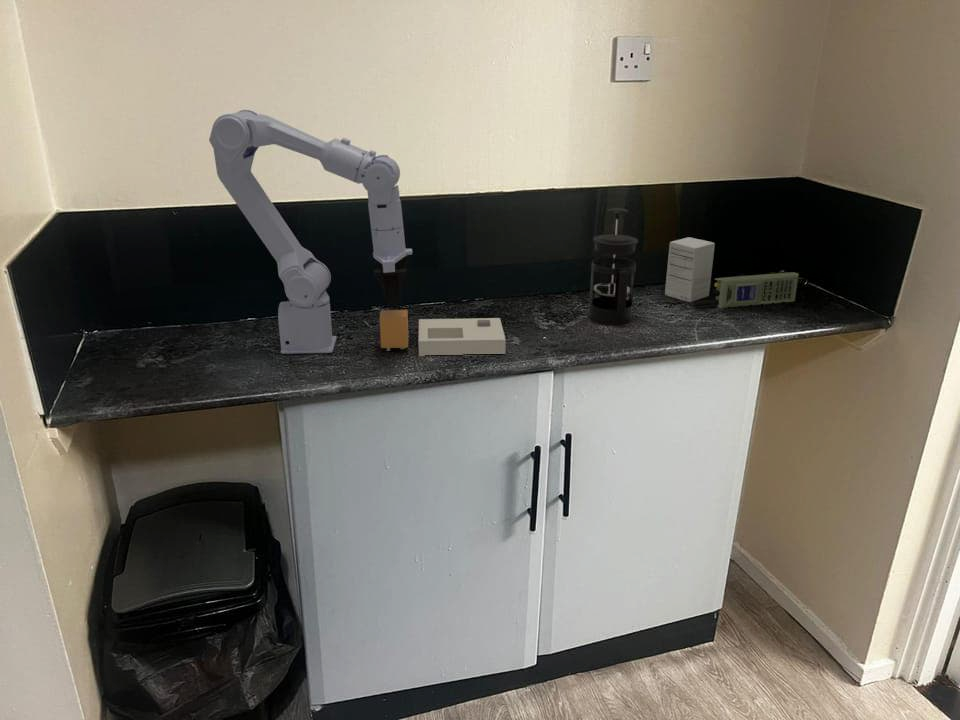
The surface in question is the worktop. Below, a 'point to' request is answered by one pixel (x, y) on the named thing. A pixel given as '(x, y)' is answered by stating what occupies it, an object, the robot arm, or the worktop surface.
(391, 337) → the plug
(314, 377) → the worktop surface
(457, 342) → the socket
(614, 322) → the french press
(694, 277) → the grey drawer unit
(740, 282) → the handheld radio
